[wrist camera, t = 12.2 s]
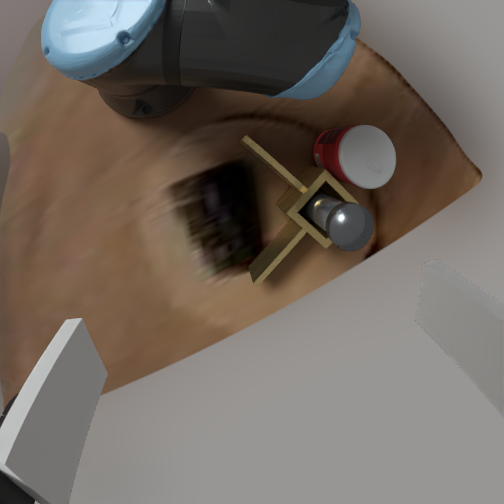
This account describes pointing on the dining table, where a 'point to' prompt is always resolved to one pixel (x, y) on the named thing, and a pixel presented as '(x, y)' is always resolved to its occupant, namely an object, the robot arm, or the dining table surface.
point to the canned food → (356, 155)
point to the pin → (340, 220)
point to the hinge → (293, 210)
